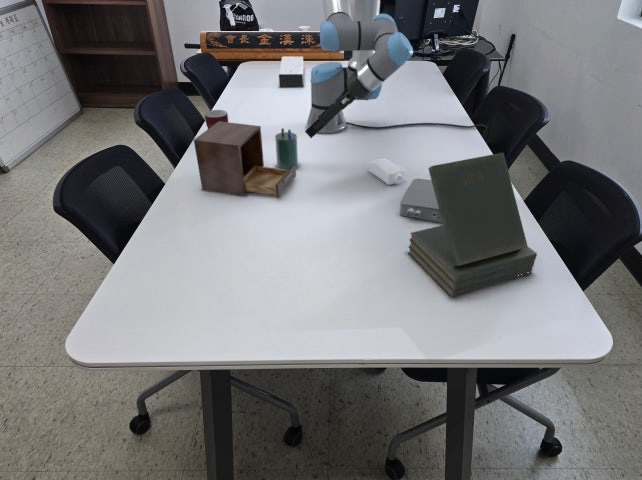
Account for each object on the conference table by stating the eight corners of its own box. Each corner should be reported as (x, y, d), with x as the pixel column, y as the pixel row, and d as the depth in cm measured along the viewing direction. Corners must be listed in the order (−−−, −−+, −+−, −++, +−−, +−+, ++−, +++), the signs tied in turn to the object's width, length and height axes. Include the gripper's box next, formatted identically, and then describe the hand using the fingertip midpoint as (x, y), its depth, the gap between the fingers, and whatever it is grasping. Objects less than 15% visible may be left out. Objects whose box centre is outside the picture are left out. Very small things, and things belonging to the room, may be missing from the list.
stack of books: (450, 298, 112) (469, 200, 97) (407, 253, 126) (418, 161, 111) (531, 275, 119) (560, 180, 104) (481, 234, 134) (501, 146, 118)
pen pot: (297, 161, 170) (296, 124, 162) (298, 170, 164) (296, 132, 156) (277, 162, 169) (274, 124, 161) (276, 170, 164) (274, 132, 156)
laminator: (303, 87, 237) (302, 74, 233) (277, 87, 236) (276, 74, 232) (303, 68, 264) (303, 56, 260) (280, 68, 263) (279, 56, 259)
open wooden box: (264, 174, 162) (260, 126, 152) (244, 196, 149) (238, 145, 140) (225, 168, 164) (219, 121, 155) (202, 189, 152) (193, 139, 142)
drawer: (297, 176, 158) (296, 164, 156) (280, 198, 147) (279, 185, 144) (256, 170, 161) (255, 158, 159) (236, 191, 149) (235, 178, 147)
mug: (223, 148, 178) (220, 120, 172) (202, 146, 179) (198, 119, 173) (233, 137, 186) (230, 110, 180) (213, 135, 187) (209, 109, 181)
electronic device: (474, 233, 134) (478, 217, 131) (397, 218, 140) (398, 202, 137) (483, 201, 148) (486, 186, 145) (413, 189, 154) (414, 174, 151)
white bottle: (390, 188, 155) (391, 175, 152) (368, 172, 163) (369, 160, 161) (407, 183, 157) (408, 171, 155) (384, 168, 166) (385, 156, 164)
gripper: (366, 59, 149) (319, 104, 161) (344, 82, 130) (293, 131, 142) (382, 79, 151) (334, 122, 164) (363, 104, 132) (311, 151, 144)
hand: (315, 126), depth 153 cm, fingers open, 13 cm apart
